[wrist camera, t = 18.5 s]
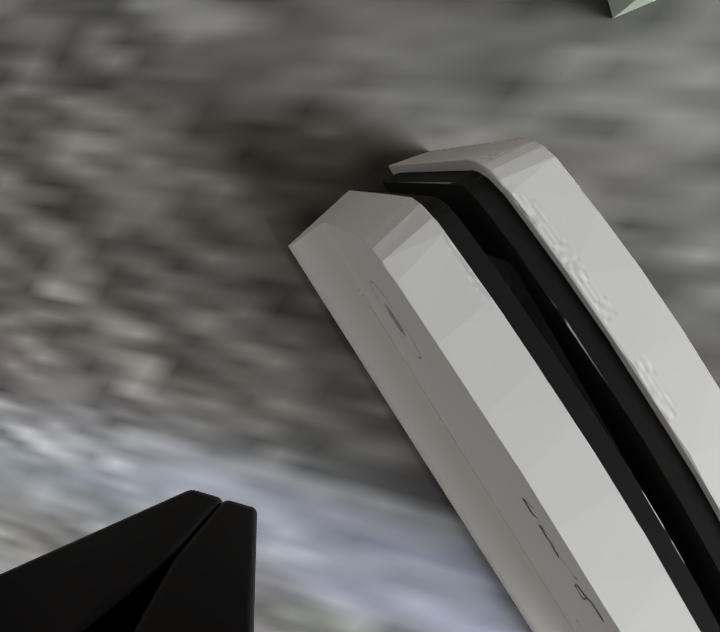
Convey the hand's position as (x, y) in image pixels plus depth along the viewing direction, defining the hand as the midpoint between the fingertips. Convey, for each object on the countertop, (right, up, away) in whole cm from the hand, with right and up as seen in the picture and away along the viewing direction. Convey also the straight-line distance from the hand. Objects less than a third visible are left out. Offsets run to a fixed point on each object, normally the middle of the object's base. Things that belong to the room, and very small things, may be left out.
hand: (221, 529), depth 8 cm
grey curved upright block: (+7, 0, +12) cm, 14 cm away
